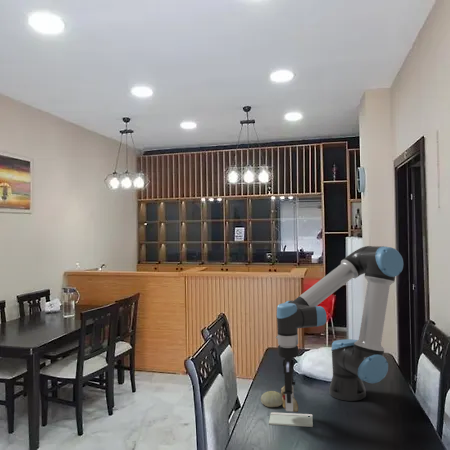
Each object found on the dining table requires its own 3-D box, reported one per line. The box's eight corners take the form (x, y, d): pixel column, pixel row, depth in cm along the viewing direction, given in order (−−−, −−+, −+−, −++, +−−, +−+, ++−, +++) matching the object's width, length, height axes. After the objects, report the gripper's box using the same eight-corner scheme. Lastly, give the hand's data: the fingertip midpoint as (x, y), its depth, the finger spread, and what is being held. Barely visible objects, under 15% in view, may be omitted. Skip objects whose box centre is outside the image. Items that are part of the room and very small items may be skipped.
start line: (312, 415, 160) (312, 414, 160) (312, 416, 159) (312, 416, 159) (271, 413, 164) (271, 412, 164) (270, 414, 162) (270, 413, 162)
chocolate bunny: (294, 402, 160) (293, 376, 160) (299, 411, 152) (298, 384, 152) (280, 403, 160) (279, 377, 160) (285, 412, 152) (284, 385, 152)
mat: (312, 418, 158) (312, 416, 158) (312, 426, 151) (312, 425, 151) (270, 416, 161) (270, 414, 161) (268, 424, 154) (268, 422, 154)
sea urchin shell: (284, 404, 167) (270, 389, 168) (271, 417, 168) (257, 403, 169) (286, 395, 176) (272, 381, 177) (273, 408, 177) (260, 394, 178)
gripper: (279, 338, 167) (281, 395, 166) (275, 352, 147) (278, 417, 147) (298, 338, 165) (300, 396, 165) (297, 353, 146) (299, 419, 146)
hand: (289, 406), depth 156 cm, fingers closed on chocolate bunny, 7 cm apart
